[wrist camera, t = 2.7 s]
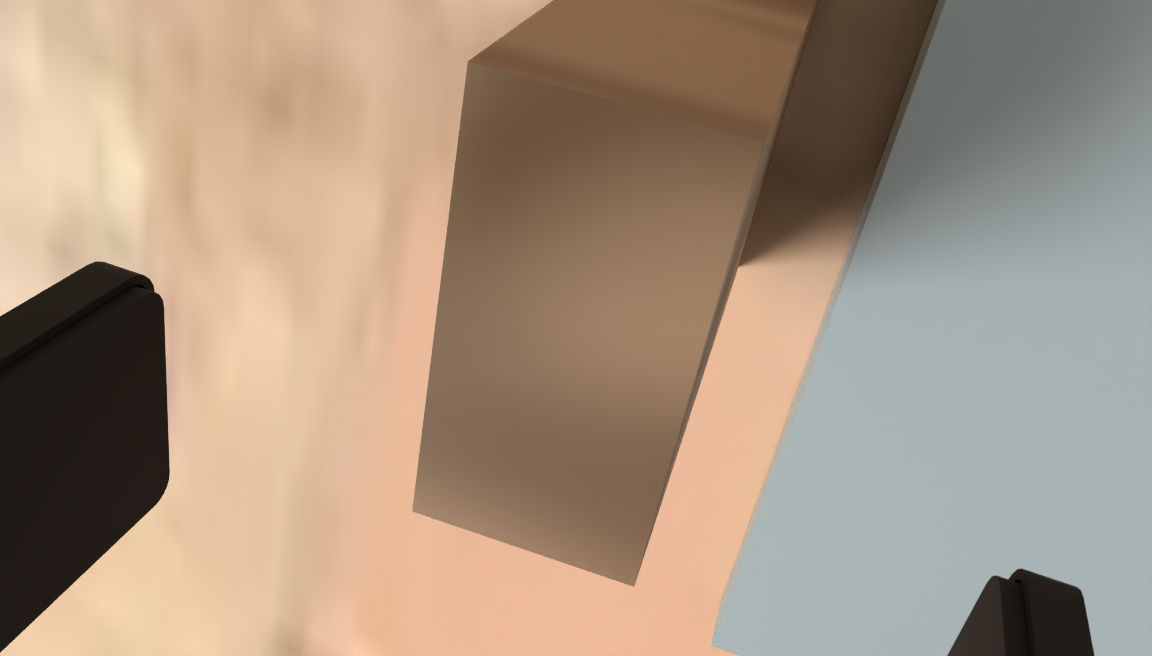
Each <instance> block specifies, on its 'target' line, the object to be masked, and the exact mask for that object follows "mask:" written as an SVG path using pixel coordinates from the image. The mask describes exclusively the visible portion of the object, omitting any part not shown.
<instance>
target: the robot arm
mask: <svg viewBox="0 0 1152 656" xmlns="http://www.w3.org/2000/svg"><path fill="white" fill-rule="evenodd" d="M169 473H170V470H169V441H168V413H167V384H166V355H165V326H164V305H163V300H162V298H161V296H160V295H159V294H157V293H155V292H154V286H153V284H152V282H151V280H150V279H149V278H147V277H146V276H144V275H141V274H138V273H135V272H132V271H129V270H126V269H123V268H120V267H117V266H114V265H111V264H108V263H105V262H94V263H91V264H89V265H87V266H85V267H83V268H82V269H80V270H78V271H77V272H75V273H73V274H71V275H70V276H68V277H66V278H65V279H63V280H61V281H60V282H58V283H56V284H54V285H53V286H51V287H49V288H48V289H46V290H44V291H43V292H41V293H39V294H37V295H36V296H34V297H32V298H31V299H29V300H27V301H26V302H24V303H22V304H20V305H19V306H17V307H15V308H14V309H12V310H10V311H9V312H7V313H5V314H3V315H2V316H0V652H1V651H2V650H3V649H5V648H6V647H7V646H8V645H9V644H10V643H11V642H12V641H13V640H14V639H15V638H16V637H17V636H18V635H19V634H20V633H21V632H22V631H23V630H25V629H26V628H27V627H28V626H29V625H30V624H31V623H32V622H33V621H34V620H35V619H36V618H37V617H38V616H39V615H40V614H41V613H42V612H43V611H45V610H46V609H47V608H48V607H49V606H50V605H51V604H52V603H53V602H54V601H55V600H56V599H57V598H58V597H59V596H60V595H61V594H62V593H63V592H65V591H66V590H67V589H68V588H69V587H70V586H71V585H72V584H73V583H74V582H75V581H76V580H77V579H78V578H79V577H80V576H81V575H82V574H83V573H85V572H86V571H87V570H88V569H89V568H90V567H91V566H92V565H93V564H94V563H95V562H96V561H97V560H98V559H99V558H100V557H101V556H102V555H103V554H105V553H106V552H107V551H108V550H109V549H110V548H111V547H112V546H113V545H114V544H115V543H116V542H117V541H118V540H119V539H120V538H121V537H122V536H123V535H125V534H126V533H127V532H128V531H129V530H130V529H131V528H132V527H133V526H134V525H135V524H136V523H137V522H138V521H139V520H140V519H141V518H142V517H143V516H144V515H146V514H147V513H148V512H149V511H150V510H151V509H152V508H153V507H154V506H155V505H156V504H157V503H158V501H159V500H160V499H161V497H162V495H163V494H164V492H165V490H166V487H167V484H168V481H169ZM947 656H1094V650H1093V645H1092V640H1091V634H1090V629H1089V623H1088V618H1087V612H1086V607H1085V602H1084V597H1083V594H1082V591H1081V590H1080V589H1079V588H1078V587H1076V586H1073V585H1070V584H1067V583H1064V582H1061V581H1058V580H1055V579H1052V578H1049V577H1046V576H1043V575H1040V574H1037V573H1034V572H1031V571H1028V570H1025V569H1017V570H1016V571H1015V572H1014V573H1012V575H1011V576H1010V578H1009V579H1006V578H1003V577H1000V576H997V575H995V576H992V577H991V578H990V579H989V580H988V582H987V583H986V585H985V587H984V589H983V591H982V592H981V594H980V596H979V598H978V600H977V602H976V603H975V605H974V607H973V609H972V611H971V613H970V614H969V616H968V618H967V620H966V622H965V624H964V626H963V627H962V629H961V631H960V633H959V635H958V637H957V638H956V640H955V642H954V644H953V646H952V648H951V650H950V651H949V653H948V655H947Z"/></svg>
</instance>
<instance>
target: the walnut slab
mask: <svg viewBox="0 0 1152 656" xmlns="http://www.w3.org/2000/svg"><path fill="white" fill-rule="evenodd" d="M817 2H818V0H553V1H552V2H551V3H549V4H548V5H546V6H545V7H544V8H542V9H541V10H539V11H538V12H537V13H535V14H534V15H532V16H531V17H530V18H528V19H527V20H525V21H524V22H523V23H521V24H520V25H518V26H517V27H516V28H514V29H513V30H511V31H510V32H509V33H507V34H506V35H504V36H503V37H502V38H500V39H499V40H497V41H496V42H494V43H493V44H492V45H490V46H489V47H487V48H486V49H485V50H483V51H482V52H480V53H479V54H478V55H476V56H475V57H473V58H472V59H471V60H469V61H468V65H467V73H466V81H465V90H464V98H463V106H462V114H461V122H460V130H459V138H458V146H457V154H456V162H455V170H454V179H453V187H452V195H451V203H450V211H449V219H448V227H447V235H446V243H445V251H444V259H443V268H442V276H441V284H440V292H439V300H438V308H437V316H436V324H435V332H434V340H433V348H432V357H431V365H430V373H429V381H428V389H427V397H426V405H425V413H424V421H423V429H422V437H421V446H420V454H419V462H418V470H417V478H416V486H415V494H414V502H413V510H412V511H413V512H416V513H419V514H422V515H425V516H428V517H431V518H434V519H437V520H439V521H442V522H445V523H448V524H451V525H454V526H457V527H460V528H463V529H466V530H469V531H472V532H475V533H478V534H481V535H484V536H487V537H489V538H492V539H495V540H498V541H501V542H504V543H507V544H510V545H513V546H516V547H519V548H522V549H525V550H528V551H531V552H534V553H536V554H539V555H542V556H545V557H548V558H551V559H554V560H557V561H560V562H563V563H566V564H569V565H572V566H575V567H578V568H581V569H584V570H586V571H589V572H592V573H595V574H598V575H601V576H604V577H607V578H610V579H613V580H616V581H619V582H622V583H625V584H628V585H631V586H634V585H635V582H636V579H637V576H638V573H639V570H640V567H641V564H642V561H643V558H644V555H645V552H646V549H647V545H648V542H649V539H650V536H651V533H652V530H653V527H654V524H655V521H656V518H657V515H658V512H659V509H660V506H661V503H662V499H663V496H664V493H665V490H666V487H667V484H668V481H669V478H670V475H671V472H672V469H673V466H674V463H675V460H676V456H677V453H678V450H679V447H680V444H681V441H682V438H683V435H684V432H685V429H686V426H687V423H688V420H689V417H690V414H691V410H692V407H693V404H694V401H695V398H696V395H697V392H698V389H699V386H700V383H701V380H702V377H703V374H704V371H705V367H706V364H707V361H708V358H709V355H710V352H711V349H712V346H713V343H714V340H715V337H716V334H717V331H718V328H719V325H720V321H721V318H722V315H723V312H724V309H725V306H726V303H727V300H728V297H729V294H730V291H731V288H732V285H733V282H734V278H735V275H736V272H737V269H738V266H739V263H740V259H741V256H742V253H743V249H744V246H745V243H746V239H747V236H748V233H749V229H750V226H751V223H752V219H753V216H754V213H755V209H756V206H757V203H758V199H759V196H760V192H761V189H762V186H763V182H764V179H765V176H766V172H767V169H768V166H769V162H770V159H771V156H772V152H773V149H774V146H775V142H776V139H777V136H778V132H779V129H780V126H781V122H782V119H783V115H784V112H785V109H786V105H787V102H788V99H789V95H790V92H791V89H792V85H793V82H794V79H795V75H796V72H797V69H798V65H799V62H800V59H801V55H802V52H803V49H804V45H805V42H806V39H807V35H808V32H809V28H810V25H811V22H812V18H813V15H814V12H815V8H816V5H817Z"/></svg>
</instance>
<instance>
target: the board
mask: <svg viewBox="0 0 1152 656" xmlns="http://www.w3.org/2000/svg"><path fill="white" fill-rule="evenodd" d="M1017 569H1025V570H1028V571H1031V572H1034V573H1037V574H1040V575H1043V576H1046V577H1049V578H1052V579H1055V580H1058V581H1061V582H1064V583H1067V584H1070V585H1073V586H1076V587H1078V588H1079V589H1080V590H1081V591H1082V594H1083V597H1084V602H1085V607H1086V612H1087V618H1088V623H1089V629H1090V634H1091V640H1092V645H1093V650H1094V656H1152V0H938V2H937V5H936V8H935V10H934V13H933V16H932V19H931V21H930V24H929V27H928V30H927V33H926V35H925V38H924V41H923V44H922V46H921V49H920V52H919V55H918V57H917V60H916V63H915V66H914V69H913V71H912V74H911V77H910V80H909V82H908V85H907V88H906V91H905V94H904V96H903V99H902V102H901V105H900V107H899V110H898V113H897V116H896V119H895V121H894V124H893V127H892V130H891V132H890V135H889V138H888V141H887V144H886V146H885V149H884V152H883V155H882V157H881V160H880V163H879V166H878V168H877V171H876V174H875V177H874V180H873V182H872V185H871V188H870V191H869V193H868V196H867V199H866V202H865V205H864V207H863V210H862V213H861V216H860V218H859V221H858V224H857V227H856V230H855V232H854V235H853V238H852V241H851V243H850V246H849V249H848V252H847V255H846V257H845V260H844V263H843V266H842V268H841V271H840V274H839V277H838V279H837V282H836V285H835V288H834V291H833V293H832V296H831V299H830V302H829V304H828V307H827V310H826V313H825V316H824V318H823V321H822V324H821V327H820V329H819V332H818V335H817V338H816V341H815V343H814V346H813V349H812V352H811V354H810V357H809V360H808V363H807V366H806V368H805V371H804V374H803V377H802V379H801V382H800V385H799V388H798V391H797V393H796V396H795V399H794V402H793V404H792V407H791V410H790V413H789V415H788V418H787V421H786V424H785V427H784V429H783V432H782V435H781V438H780V440H779V443H778V446H777V449H776V452H775V454H774V457H773V460H772V463H771V465H770V468H769V471H768V474H767V477H766V479H765V482H764V485H763V488H762V490H761V493H760V496H759V499H758V502H757V504H756V507H755V510H754V513H753V515H752V518H751V521H750V524H749V526H748V529H747V532H746V535H745V538H744V540H743V543H742V546H741V549H740V551H739V554H738V557H737V560H736V563H735V565H734V568H733V571H732V574H731V576H730V579H729V582H728V585H727V588H726V590H725V593H724V596H723V599H722V601H721V604H720V607H719V612H718V616H717V621H716V625H715V630H714V634H713V639H712V644H711V646H714V647H717V648H720V649H723V650H726V651H729V652H732V653H735V654H737V655H740V656H947V655H948V653H949V651H950V650H951V648H952V646H953V644H954V642H955V640H956V638H957V637H958V635H959V633H960V631H961V629H962V627H963V626H964V624H965V622H966V620H967V618H968V616H969V614H970V613H971V611H972V609H973V607H974V605H975V603H976V602H977V600H978V598H979V596H980V594H981V592H982V591H983V589H984V587H985V585H986V583H987V582H988V580H989V579H990V578H991V577H992V576H995V575H997V576H1000V577H1003V578H1006V579H1009V578H1010V576H1011V575H1012V573H1014V572H1015V571H1016V570H1017Z"/></svg>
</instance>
